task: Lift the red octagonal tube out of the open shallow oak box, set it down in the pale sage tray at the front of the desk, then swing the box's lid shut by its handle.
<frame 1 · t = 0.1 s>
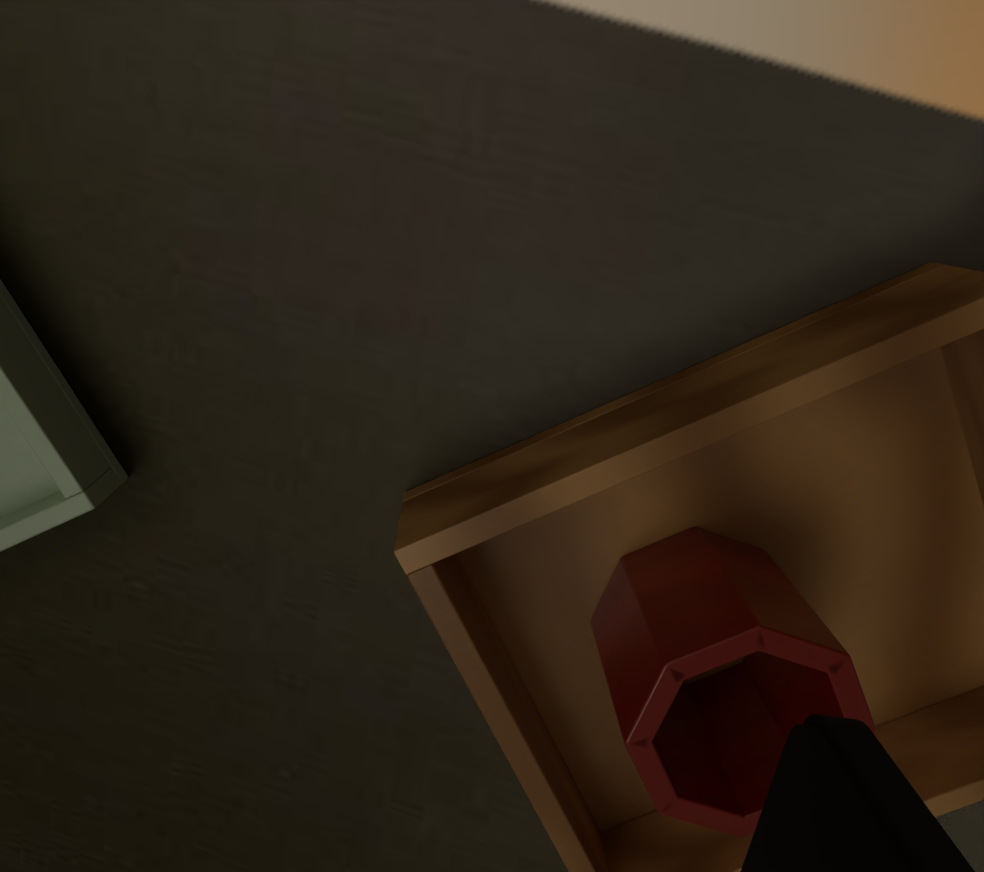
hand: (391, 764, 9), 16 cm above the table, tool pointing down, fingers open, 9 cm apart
red octagonal tube: (689, 617, 27), point 1 cm above the table, touching chest
chest: (738, 582, 27), on the table
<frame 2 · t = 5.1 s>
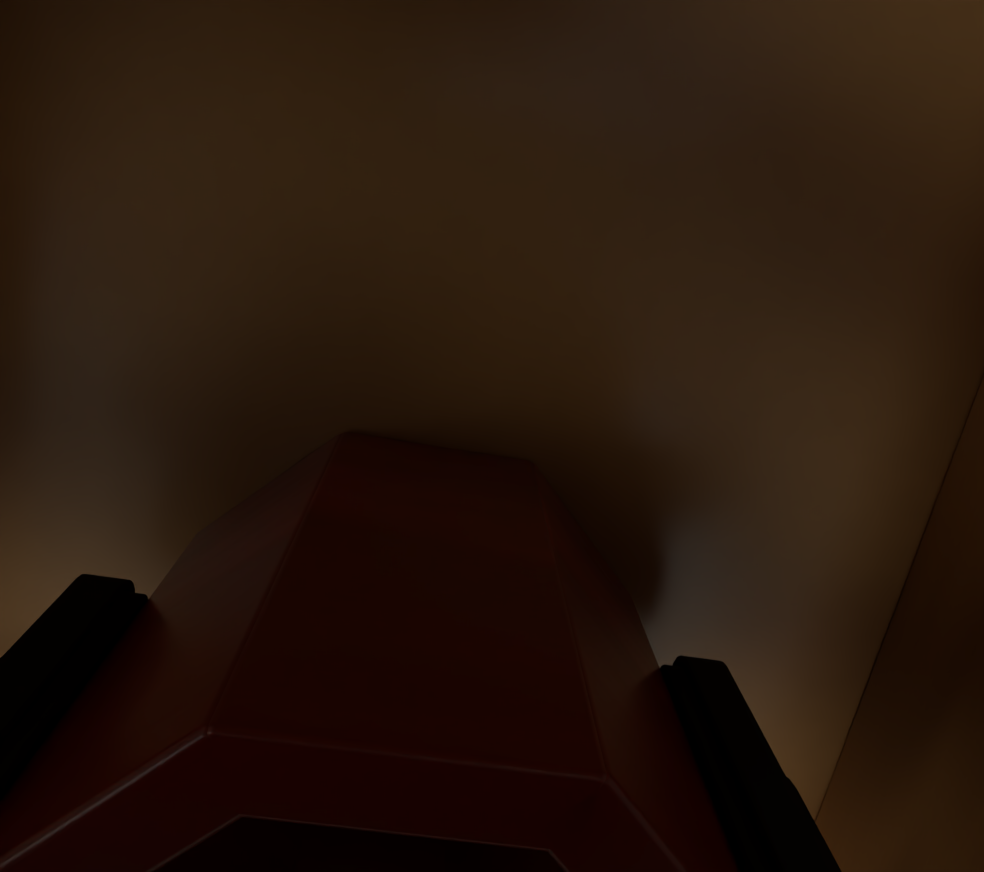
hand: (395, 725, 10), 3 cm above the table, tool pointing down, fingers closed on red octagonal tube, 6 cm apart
red octagonal tube: (405, 643, 12), point 1 cm above the table, touching chest, gripper
chest: (428, 496, 12), on the table
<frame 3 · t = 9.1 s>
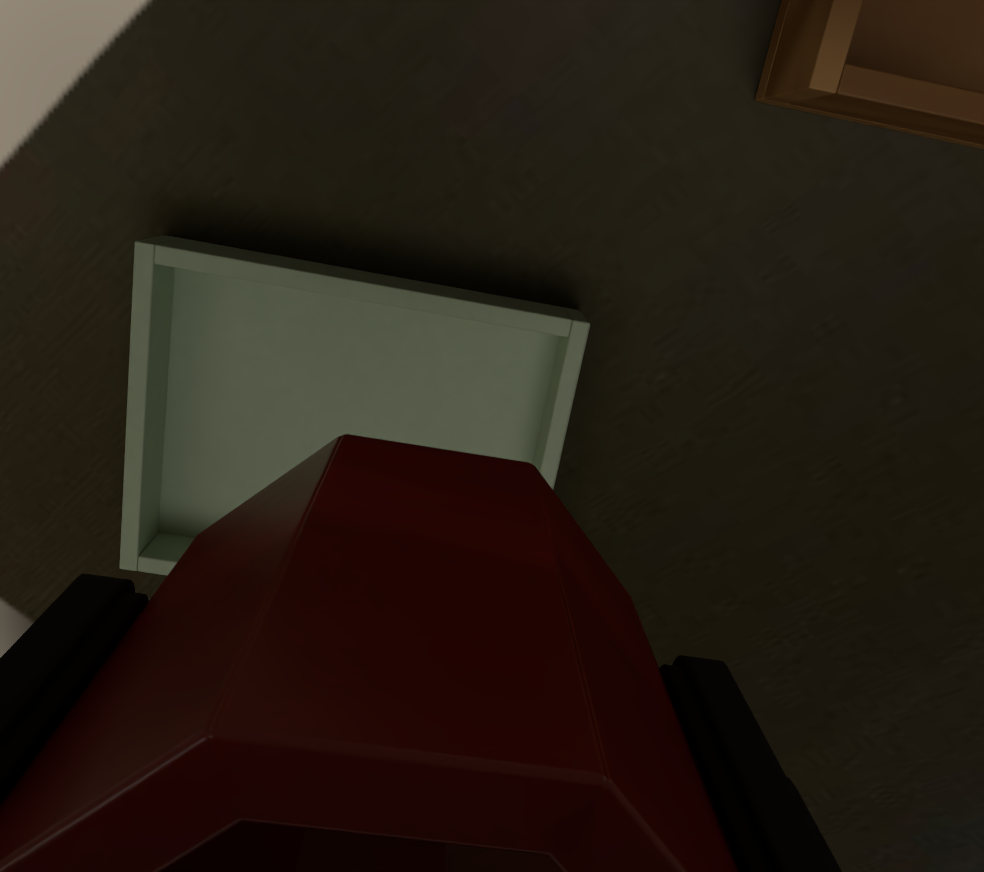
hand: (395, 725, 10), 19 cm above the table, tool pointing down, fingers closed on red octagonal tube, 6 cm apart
red octagonal tube: (405, 644, 12), point 17 cm above the table, touching gripper
tray: (355, 428, 29), on the table
when the fingers open (2 cm above the table, at t = 13.6 s): red octagonal tube stays where it is, resting on tray.
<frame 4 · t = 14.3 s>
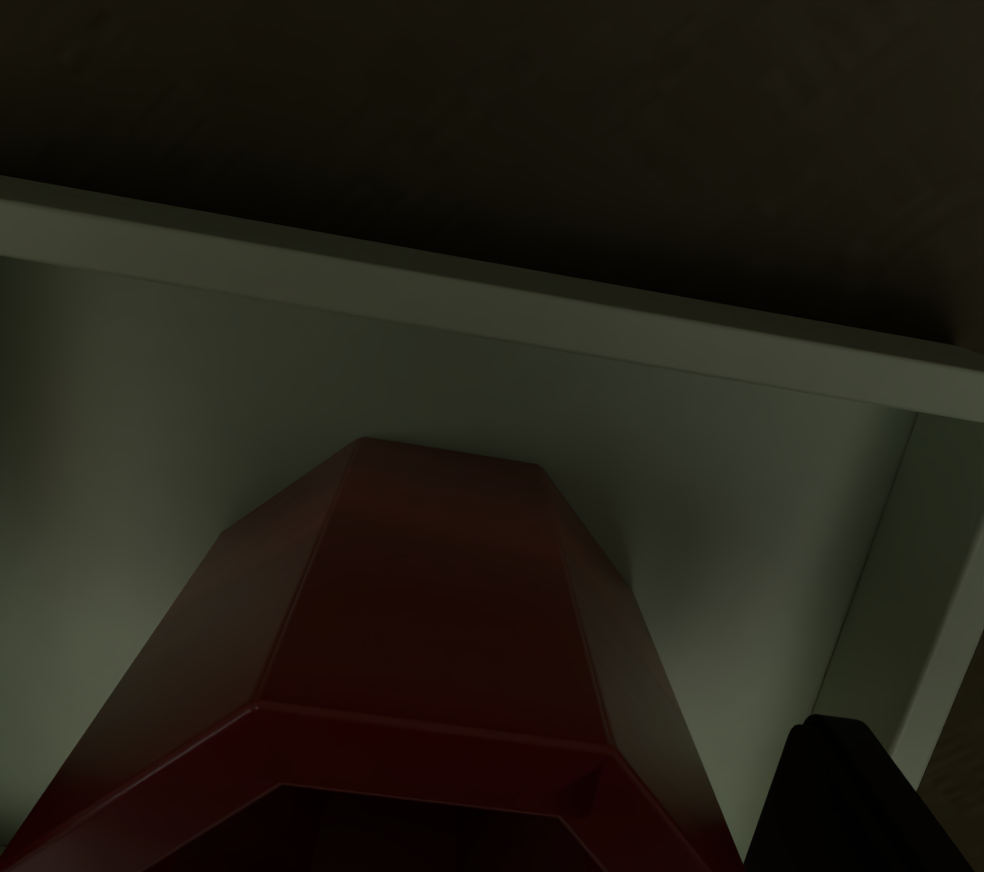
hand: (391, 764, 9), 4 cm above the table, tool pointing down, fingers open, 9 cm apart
red octagonal tube: (418, 637, 12), resting on tray
tray: (416, 614, 13), on the table
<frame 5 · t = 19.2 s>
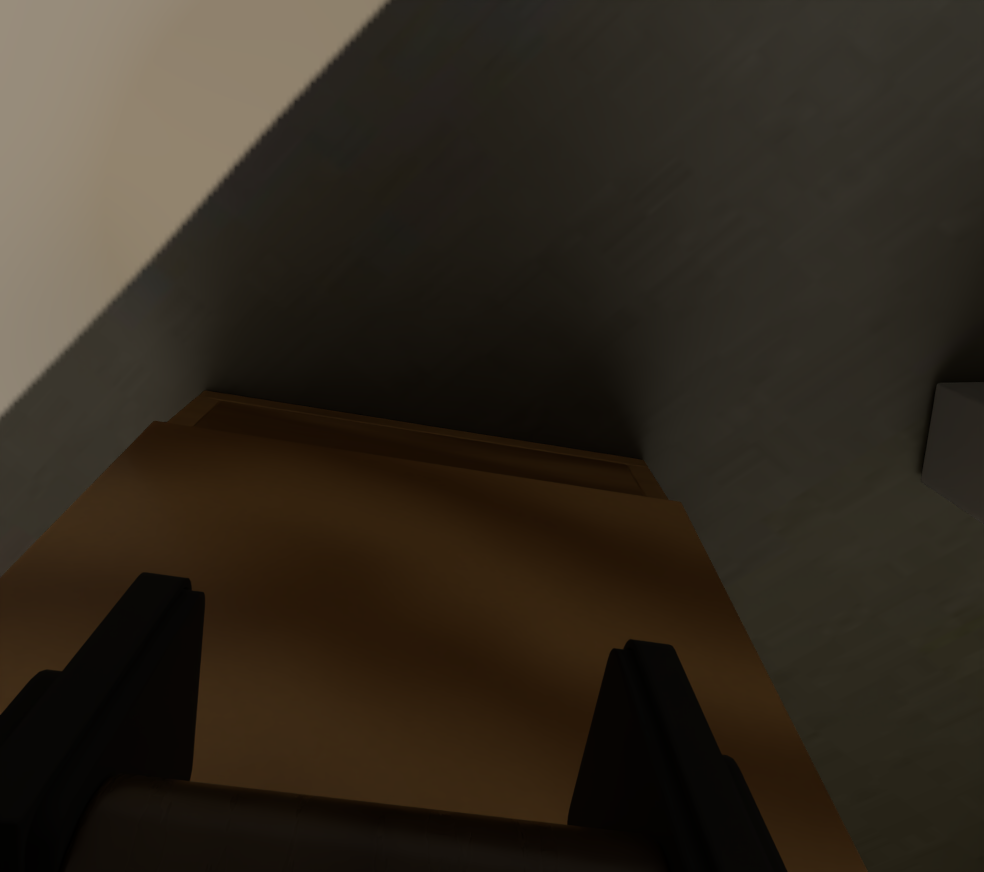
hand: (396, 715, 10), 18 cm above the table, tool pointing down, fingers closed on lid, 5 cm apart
lid: (410, 594, 14), point 14 cm above the table, hinge at 85.0°, touching gripper
chest: (394, 640, 31), on the table
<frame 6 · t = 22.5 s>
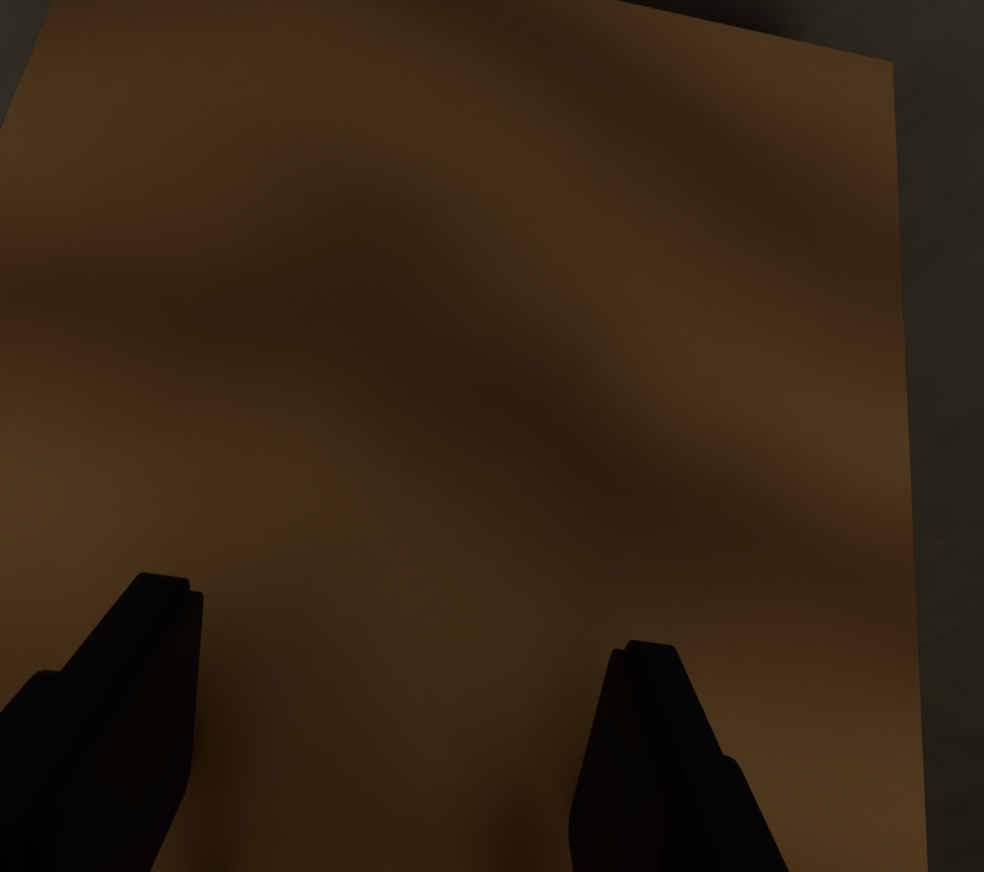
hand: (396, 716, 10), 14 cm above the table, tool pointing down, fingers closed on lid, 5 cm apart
lid: (453, 379, 11), point 12 cm above the table, hinge at 36.6°, touching gripper
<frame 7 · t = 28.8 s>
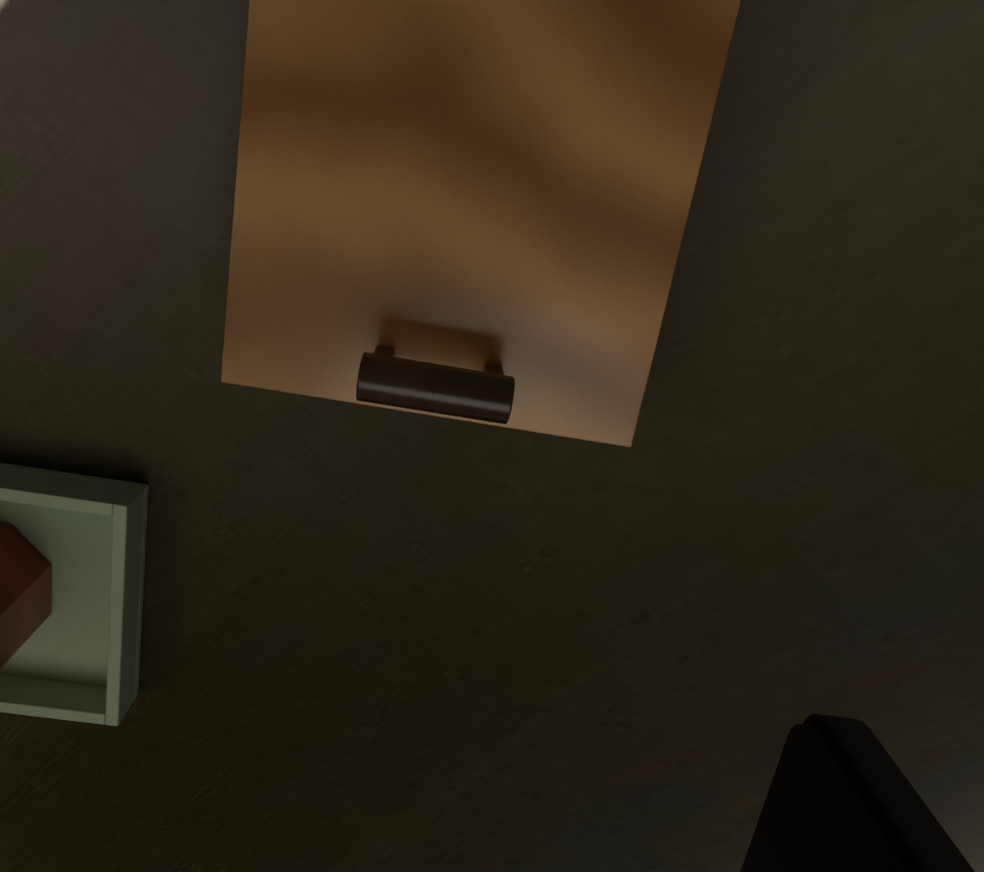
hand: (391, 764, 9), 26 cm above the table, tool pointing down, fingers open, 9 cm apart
lid: (472, 160, 26), point 7 cm above the table, hinge at -0.2°, touching chest
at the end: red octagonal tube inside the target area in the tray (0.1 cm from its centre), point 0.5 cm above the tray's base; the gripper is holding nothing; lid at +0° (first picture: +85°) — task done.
